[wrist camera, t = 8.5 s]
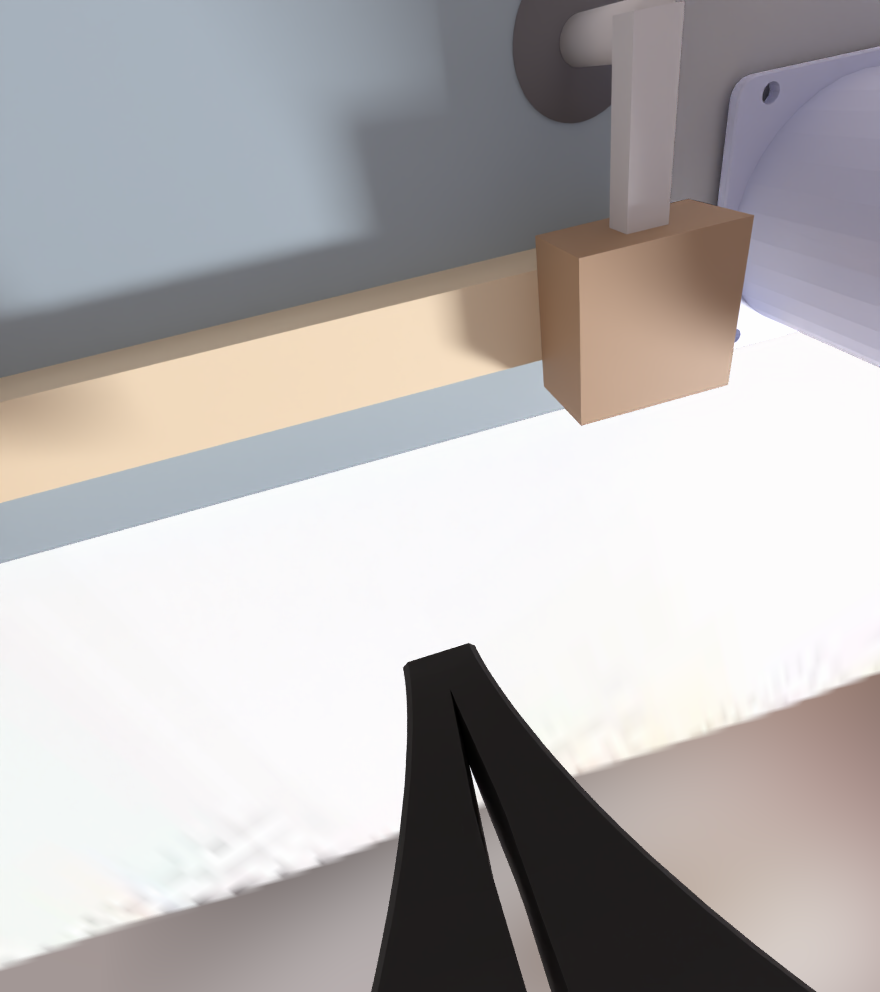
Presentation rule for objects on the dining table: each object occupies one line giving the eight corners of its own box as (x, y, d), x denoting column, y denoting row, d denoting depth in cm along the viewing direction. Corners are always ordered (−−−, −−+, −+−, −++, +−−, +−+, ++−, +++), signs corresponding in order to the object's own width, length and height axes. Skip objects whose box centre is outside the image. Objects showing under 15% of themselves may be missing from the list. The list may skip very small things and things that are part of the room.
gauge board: (636, -113, 13) (821, -216, 9) (620, 374, 20) (717, 450, 16) (-579, 103, 10) (-1168, 109, 6) (-103, 569, 18) (-220, 723, 13)
